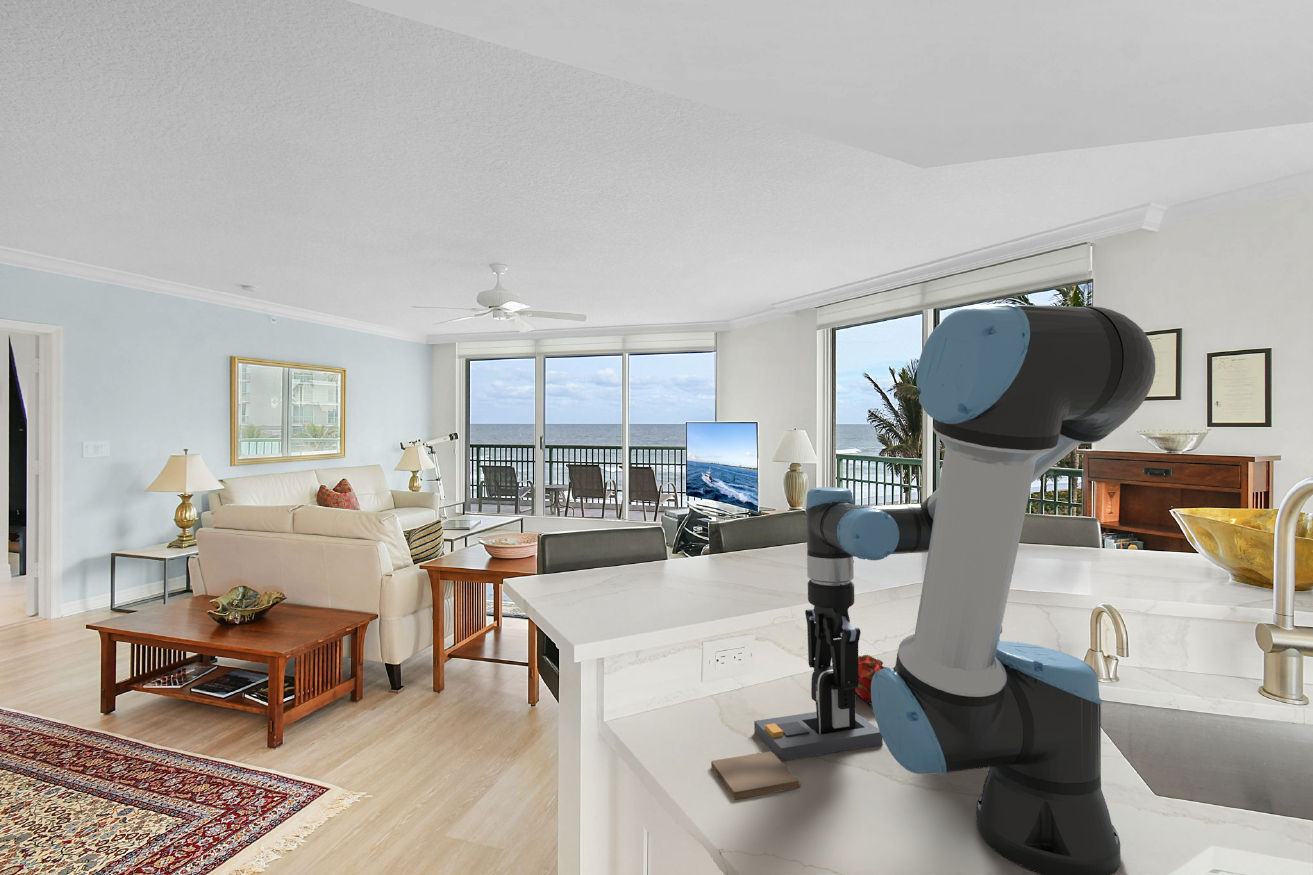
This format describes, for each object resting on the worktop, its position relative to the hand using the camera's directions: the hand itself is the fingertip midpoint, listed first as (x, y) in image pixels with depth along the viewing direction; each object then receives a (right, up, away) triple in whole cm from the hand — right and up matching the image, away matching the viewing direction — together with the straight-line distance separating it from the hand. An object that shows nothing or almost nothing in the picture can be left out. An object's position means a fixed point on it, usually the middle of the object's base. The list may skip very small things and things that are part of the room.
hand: (832, 719), depth 107 cm
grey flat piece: (-3, -3, -1) cm, 4 cm away
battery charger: (0, -3, 0) cm, 3 cm away
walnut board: (-15, -3, -13) cm, 20 cm away
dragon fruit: (+12, -3, +15) cm, 19 cm away
